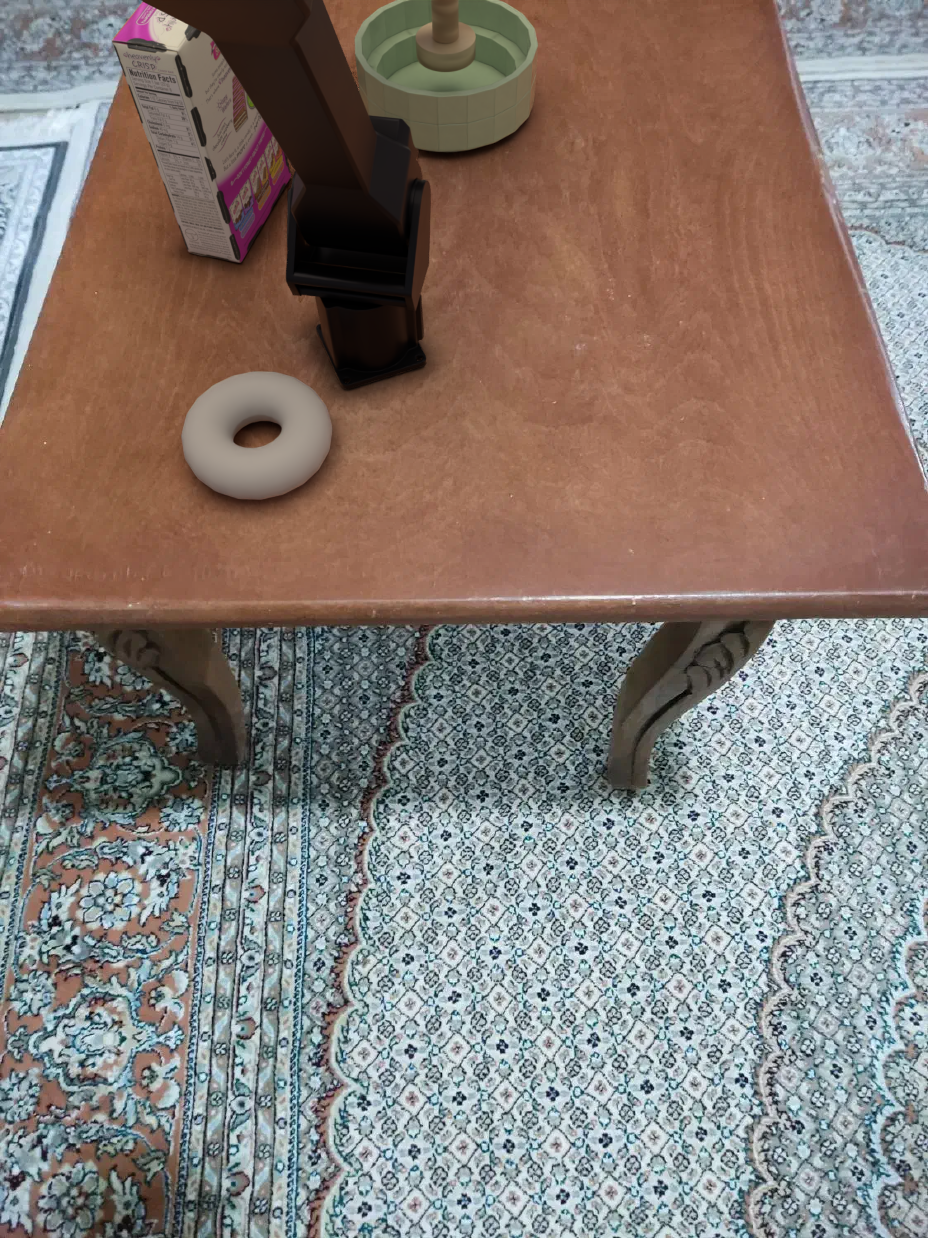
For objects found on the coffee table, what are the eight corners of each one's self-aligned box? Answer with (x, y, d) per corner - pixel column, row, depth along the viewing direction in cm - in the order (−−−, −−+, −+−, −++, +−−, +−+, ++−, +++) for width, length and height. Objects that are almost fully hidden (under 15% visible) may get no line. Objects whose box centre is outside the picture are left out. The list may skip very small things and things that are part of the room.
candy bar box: (238, 167, 75) (181, -55, 60) (293, 177, 74) (249, -45, 59) (182, 255, 70) (106, 35, 55) (241, 266, 69) (179, 47, 54)
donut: (169, 498, 59) (313, 520, 58) (151, 465, 56) (303, 488, 55) (218, 386, 63) (352, 405, 62) (204, 350, 60) (345, 369, 59)
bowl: (396, 178, 74) (391, 113, 69) (339, 78, 80) (330, 13, 76) (561, 133, 76) (567, 69, 72) (492, 40, 83) (493, -24, 78)
